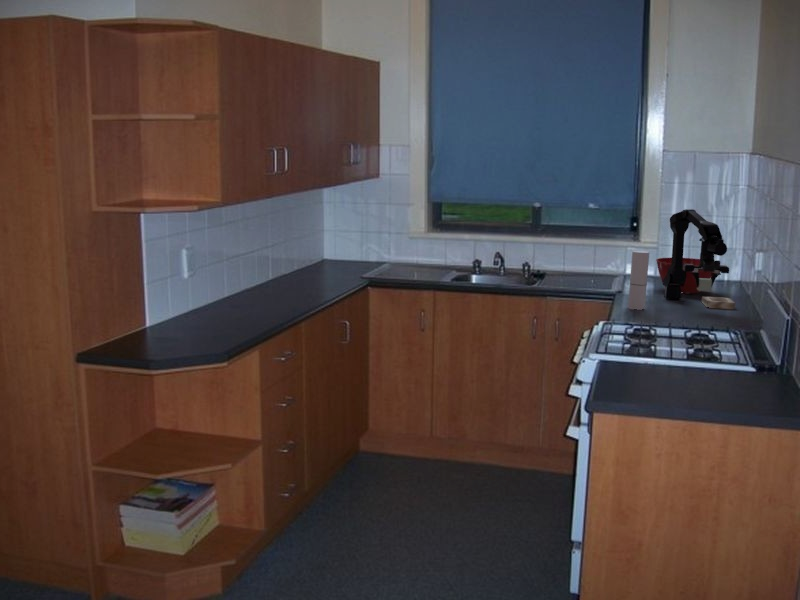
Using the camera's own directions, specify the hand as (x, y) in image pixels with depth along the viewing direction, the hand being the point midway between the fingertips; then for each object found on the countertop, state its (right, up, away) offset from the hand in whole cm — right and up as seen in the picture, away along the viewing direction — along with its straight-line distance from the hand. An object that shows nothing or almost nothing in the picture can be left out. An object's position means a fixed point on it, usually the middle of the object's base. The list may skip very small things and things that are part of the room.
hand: (704, 287), depth 393 cm
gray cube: (0, -1, 0) cm, 1 cm away
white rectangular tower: (-30, -9, 0) cm, 31 cm away
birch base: (+10, -8, +11) cm, 17 cm away
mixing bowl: (+6, -1, +48) cm, 48 cm away
